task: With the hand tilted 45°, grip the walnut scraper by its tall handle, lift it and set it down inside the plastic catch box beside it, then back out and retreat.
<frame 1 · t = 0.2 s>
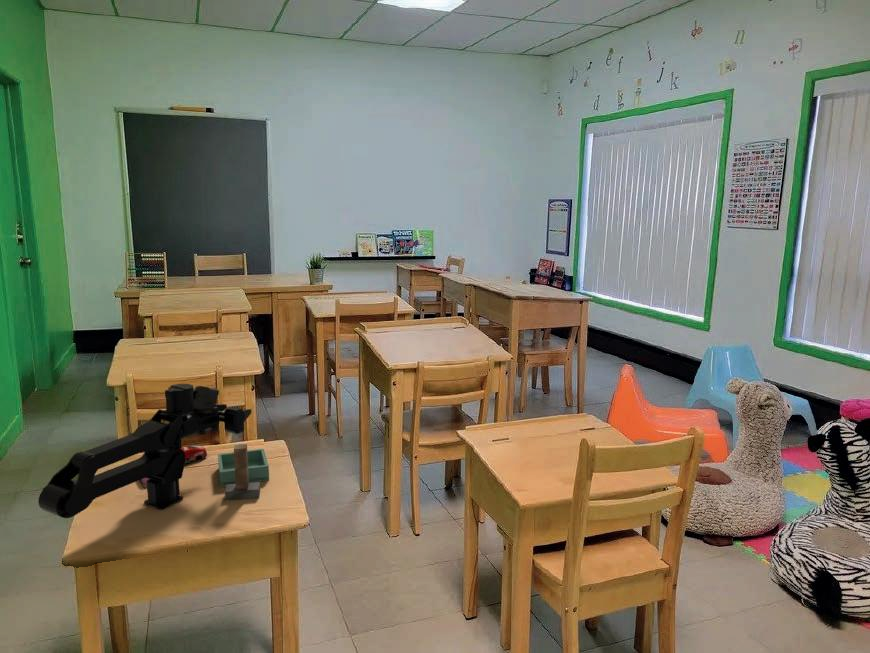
hand: (238, 408, 174), 16 cm above the table, tool horizontal, fingers open, 9 cm apart
eraser: (147, 481, 167), on the table
race car: (182, 463, 178), on the table
catch box: (243, 473, 171), on the table
scraper: (243, 495, 159), on the table
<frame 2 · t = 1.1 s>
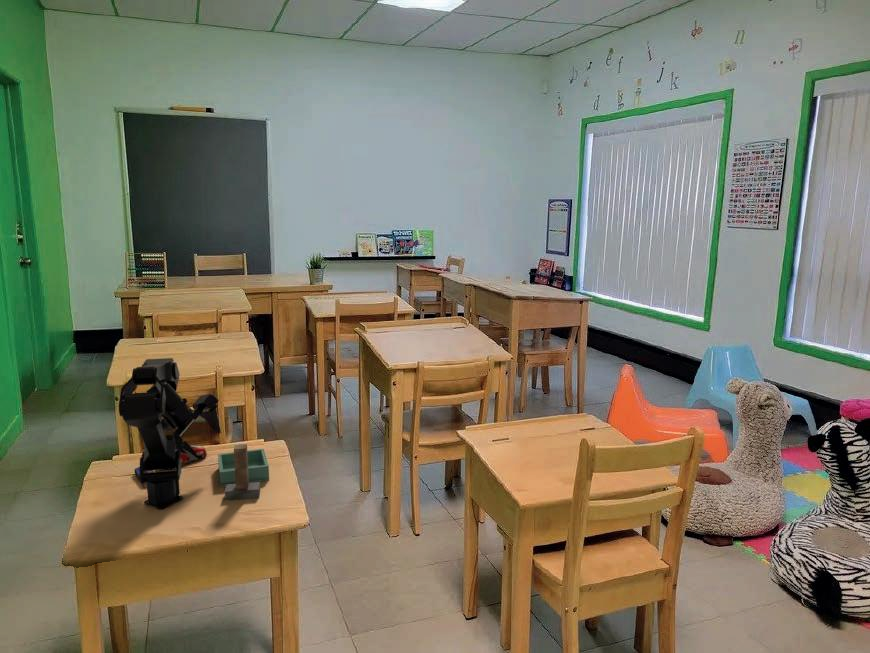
hand: (209, 446, 168), 8 cm above the table, tool tilted 35°, fingers open, 9 cm apart
nothing on the table moved.
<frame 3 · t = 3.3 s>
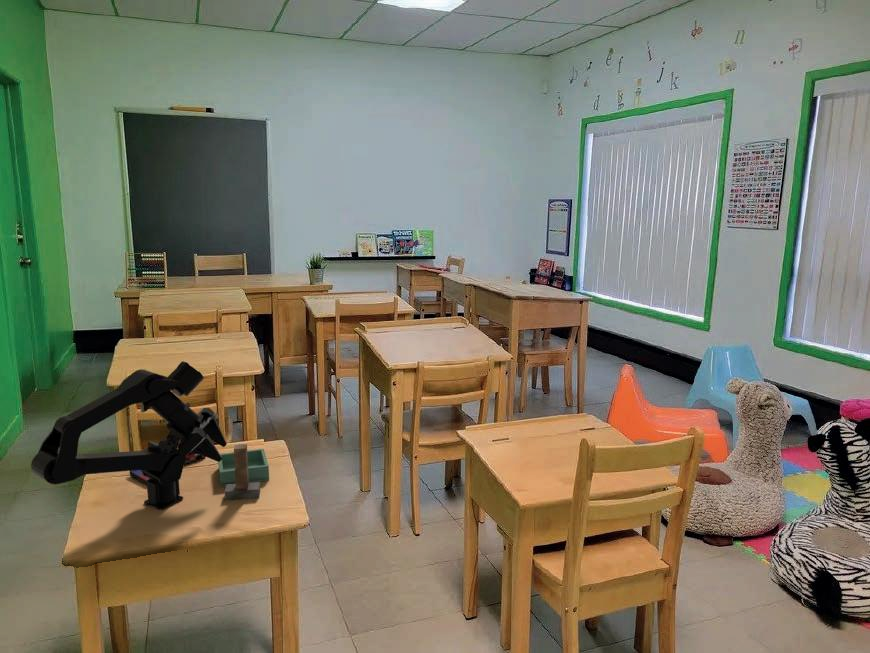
hand: (223, 452, 157), 11 cm above the table, tool tilted 45°, fingers open, 9 cm apart
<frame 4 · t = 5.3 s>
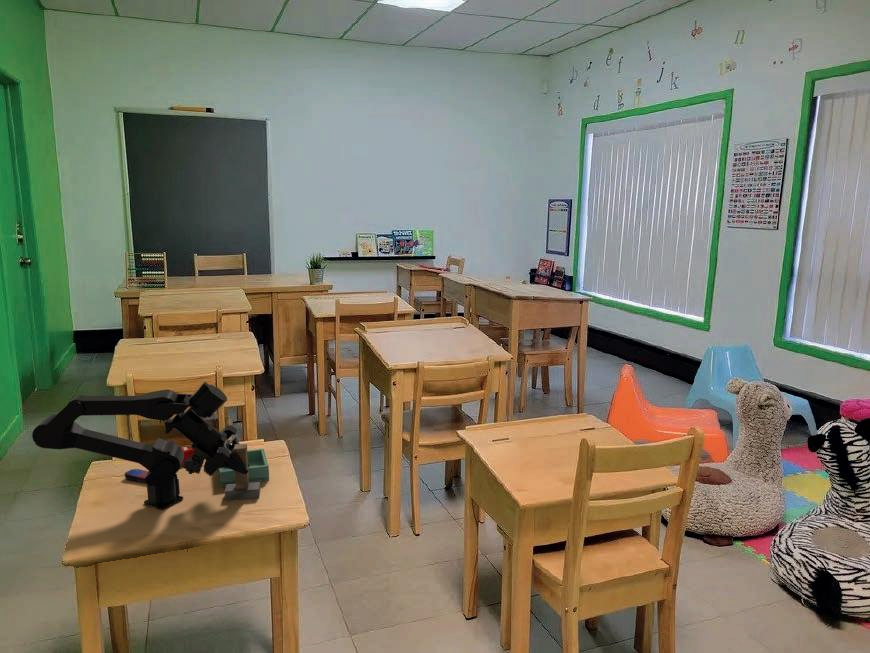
hand: (247, 470, 158), 7 cm above the table, tool tilted 45°, fingers closed on scraper, 3 cm apart
scraper: (243, 495, 159), on the table, touching gripper
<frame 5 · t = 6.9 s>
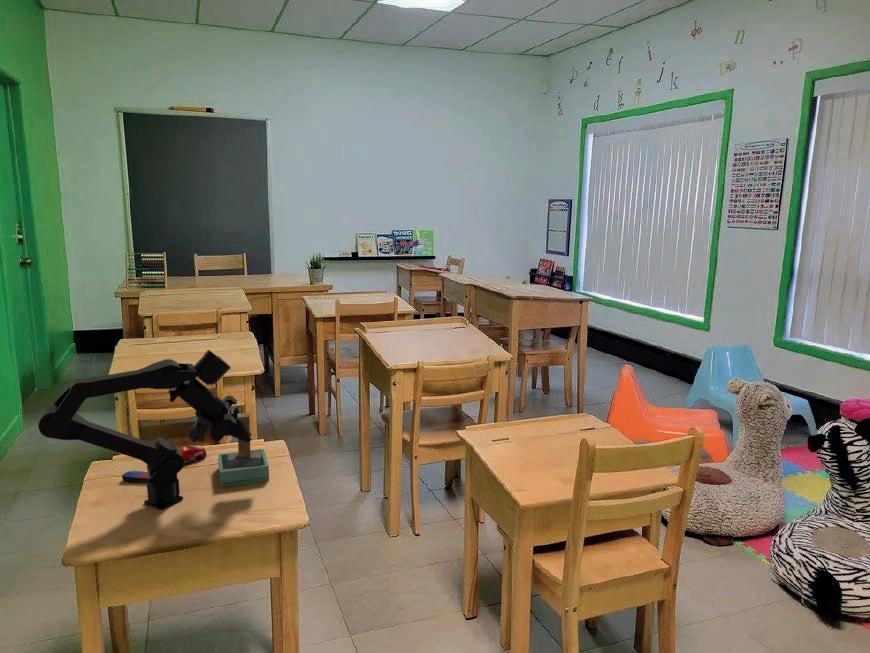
hand: (250, 438, 160), 13 cm above the table, tool tilted 45°, fingers closed on scraper, 3 cm apart
scraper: (244, 464, 161), point 7 cm above the table, touching gripper
when the fingers open (9 cm above the table, at t = 8.9 s): scraper drops 1 cm, resting on catch box.
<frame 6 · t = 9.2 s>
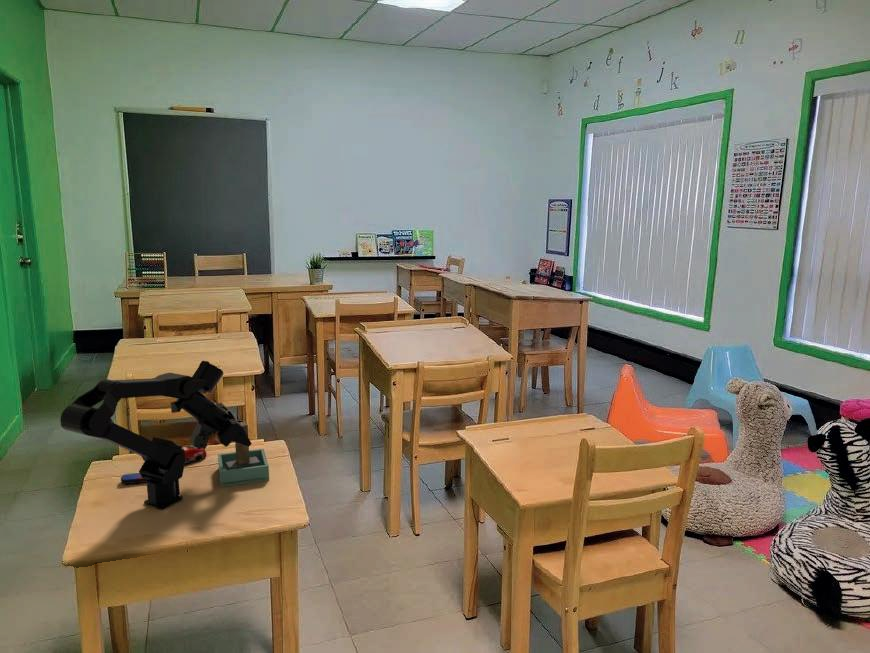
hand: (247, 441, 170), 9 cm above the table, tool tilted 45°, fingers open, 6 cm apart
scraper: (243, 470, 171), point 1 cm above the table, touching catch box
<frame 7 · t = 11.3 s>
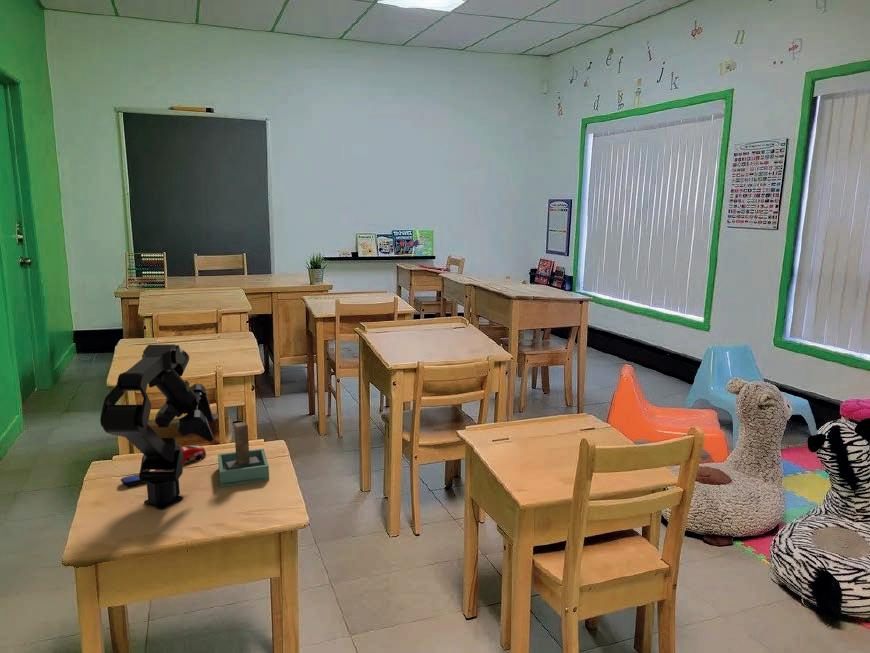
hand: (212, 431, 167), 13 cm above the table, tool tilted 35°, fingers open, 9 cm apart
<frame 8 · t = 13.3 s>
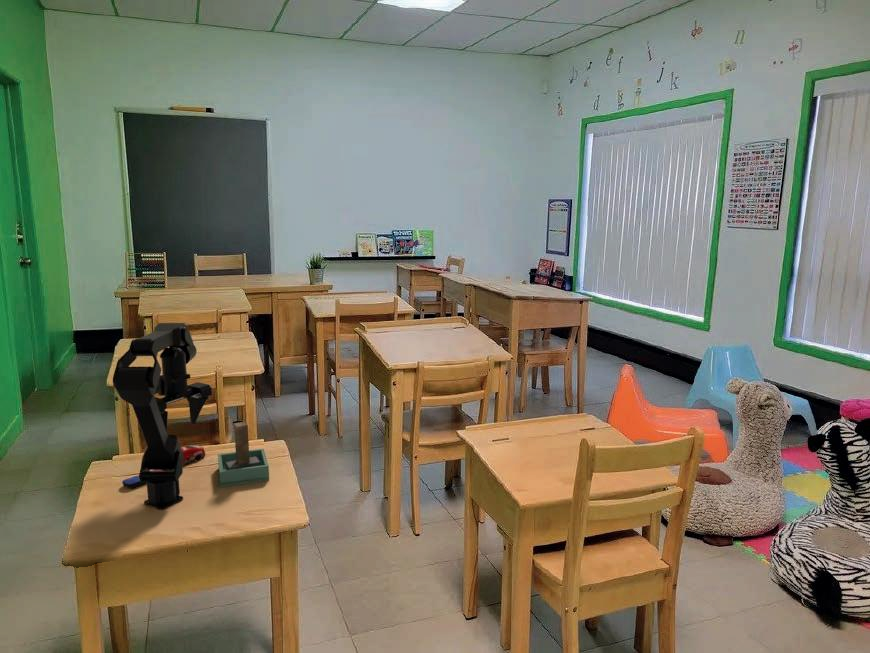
hand: (178, 429, 167), 13 cm above the table, tool pointing down, fingers open, 9 cm apart
at the end: scraper inside the target area on the catch box (0.0 cm from its centre), point 1.0 cm above the catch box's base; the gripper is holding nothing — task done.
